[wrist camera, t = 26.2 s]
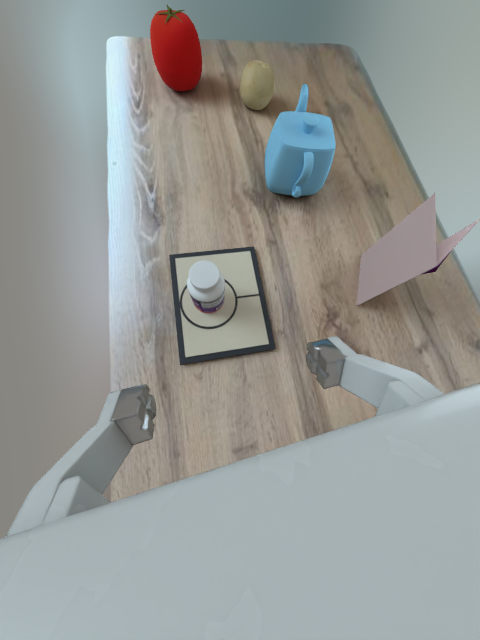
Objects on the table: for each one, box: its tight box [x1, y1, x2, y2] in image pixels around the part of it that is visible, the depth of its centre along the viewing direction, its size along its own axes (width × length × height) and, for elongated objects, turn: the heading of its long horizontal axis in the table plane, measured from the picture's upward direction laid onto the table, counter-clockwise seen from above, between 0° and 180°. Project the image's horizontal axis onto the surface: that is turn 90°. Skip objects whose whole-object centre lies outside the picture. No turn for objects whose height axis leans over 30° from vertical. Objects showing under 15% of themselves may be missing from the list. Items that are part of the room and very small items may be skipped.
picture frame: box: [169, 247, 275, 365], centre depth 36 cm, size 16×20×1 cm
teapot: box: [265, 84, 335, 198], centre depth 40 cm, size 12×18×12 cm
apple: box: [240, 61, 274, 110], centre depth 47 cm, size 8×8×8 cm
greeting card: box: [357, 193, 480, 306], centre depth 33 cm, size 11×7×15 cm, turn 131°
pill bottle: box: [187, 260, 225, 314], centre depth 31 cm, size 5×5×10 cm
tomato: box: [150, 6, 202, 91], centre depth 45 cm, size 10×11×11 cm
